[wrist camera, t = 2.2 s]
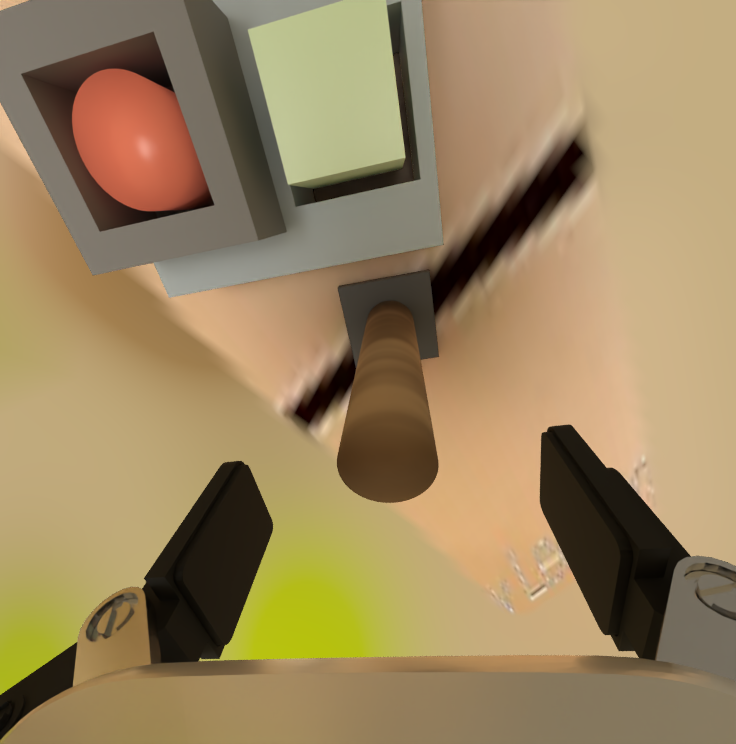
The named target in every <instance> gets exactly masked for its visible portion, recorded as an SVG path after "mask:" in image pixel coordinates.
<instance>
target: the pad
mask: <svg viewBox="0 0 736 744" xmlns="http://www.w3.org/2000/svg"><path fill="white" fill-rule="evenodd" d="M338 292H339V296H340V300H341V305H342V309H343V313H344V318H345V322H346V326H347V331H348V335H349V339H350V344H351V348H352V352H353V357H354V361H355V365H356V368H357V364H358V359H359V354H360V350H361V345H362V341H363V336H364V331H365V327H366V322H367V318H368V315H369V313H370V311H371V310H372V308H373V307H375V306H376V305H377V304H379V303H381V302H384V301H397V302H400V303H402V304H404V305H405V306H406V307H407V308H408V309H409V310H410V312H411V313H412V316H413V320H414V326H415V331H416V337H417V343H418V348H419V354H420V360H421V359H427V358H434V357H439V354H438V345H437V336H436V327H435V318H434V309H433V300H432V291H431V282H430V273H429V270H424V271H418V272H413V273H407V274H402V275H396V276H391V277H385V278H380V279H375V280H369V281H364V282H358V283H353V284H347V285H342V286H339V287H338Z"/></svg>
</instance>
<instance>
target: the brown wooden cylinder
mask: <svg viewBox="0 0 736 744" xmlns="http://www.w3.org/2000/svg"><path fill="white" fill-rule="evenodd" d="M337 468H338V472H339V475H340V477H341V478H342V480H343V482H344V483H345V484H346V485H347V486H348V487H349V488H350V489H351V490H352V491H353V492H355V493H357V494H358V495H360V496H362V497H364V498H366V499H369V500H373V501H377V502H385V503H394V502H402V501H406V500H409V499H412V498H414V497H416V496H418V495H420V494H422V493H423V492H424V491H426V490H427V489H428V488H429V487H430V486H431V484H432V483H433V481H434V480H435V478H436V475H437V472H438V457H437V451H436V445H435V440H434V434H433V428H432V423H431V417H430V411H429V406H428V400H427V394H426V388H425V383H424V377H423V371H422V366H421V360H420V354H419V348H418V343H417V337H416V331H415V326H414V320H413V316H412V313H411V312H410V310H409V309H408V308H407V307H406V306H405V305H404V304H402V303H400V302H397V301H384V302H381V303H379V304H377V305H376V306H375V307H373V308H372V310H371V311H370V313H369V315H368V318H367V322H366V327H365V331H364V336H363V341H362V345H361V350H360V354H359V359H358V364H357V368H356V373H355V378H354V382H353V387H352V391H351V396H350V401H349V405H348V410H347V415H346V419H345V424H344V428H343V433H342V438H341V442H340V447H339V452H338V456H337Z"/></svg>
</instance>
